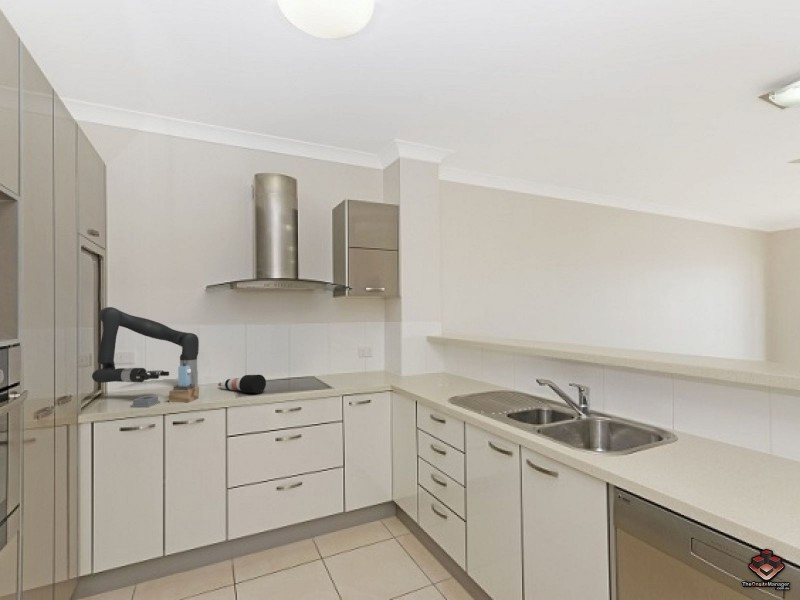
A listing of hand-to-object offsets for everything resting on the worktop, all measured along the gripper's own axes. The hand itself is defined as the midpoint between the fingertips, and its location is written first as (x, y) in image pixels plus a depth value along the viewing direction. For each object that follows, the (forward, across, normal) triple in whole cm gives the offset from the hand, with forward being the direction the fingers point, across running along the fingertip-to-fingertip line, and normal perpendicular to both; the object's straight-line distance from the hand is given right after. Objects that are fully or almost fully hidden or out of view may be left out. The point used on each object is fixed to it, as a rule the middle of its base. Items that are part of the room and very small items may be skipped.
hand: (163, 375), depth 212 cm
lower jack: (-3, -10, +13) cm, 17 cm away
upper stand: (+11, 0, +13) cm, 17 cm away
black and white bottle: (+30, +22, +14) cm, 40 cm away
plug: (+11, 0, +7) cm, 13 cm away
